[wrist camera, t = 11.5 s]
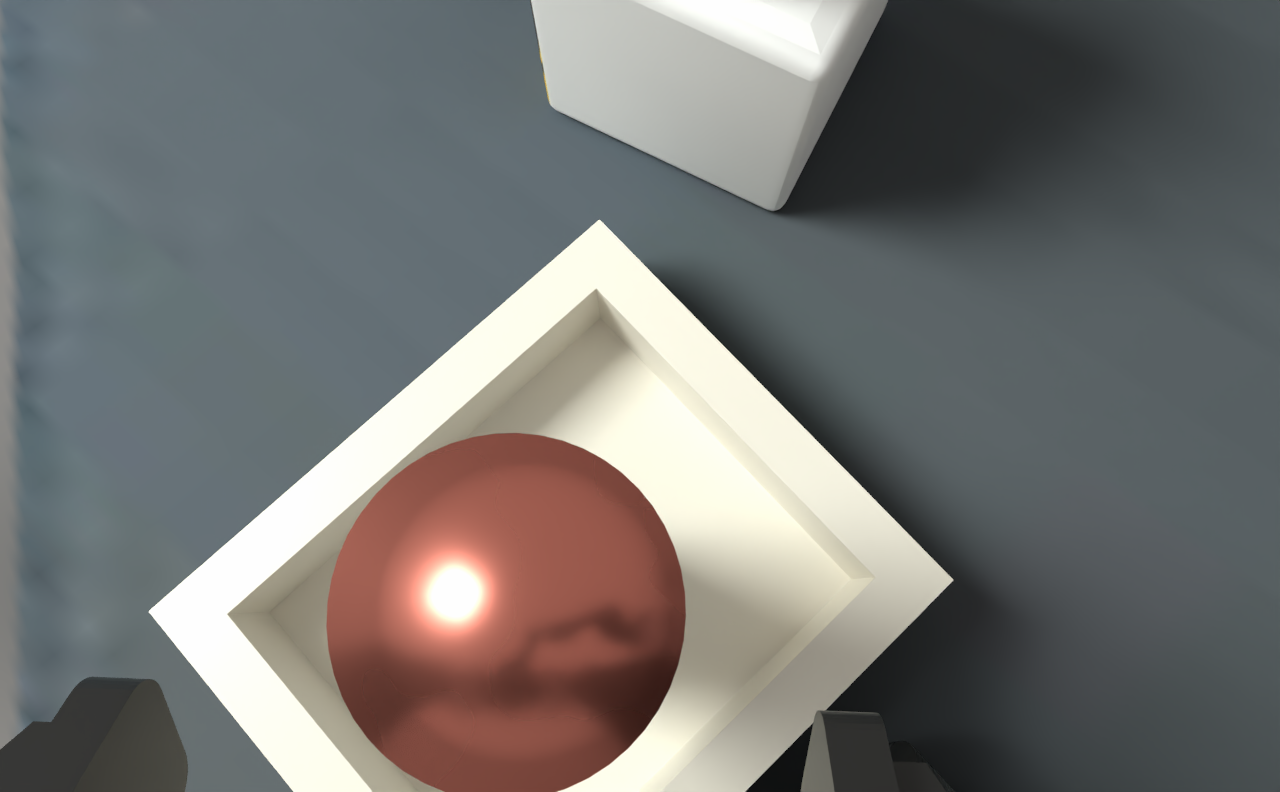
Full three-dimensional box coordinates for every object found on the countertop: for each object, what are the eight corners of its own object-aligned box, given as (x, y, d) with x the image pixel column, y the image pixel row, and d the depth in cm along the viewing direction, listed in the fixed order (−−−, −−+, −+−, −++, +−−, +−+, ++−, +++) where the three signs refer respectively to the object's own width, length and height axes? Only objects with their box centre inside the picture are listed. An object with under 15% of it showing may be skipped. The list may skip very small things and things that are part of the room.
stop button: (578, 479, 23) (522, 363, 12) (696, 606, 23) (760, 620, 11) (449, 597, 23) (253, 600, 11) (566, 731, 22) (488, 885, 10)
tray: (604, 263, 25) (599, 219, 22) (914, 581, 24) (953, 579, 21) (210, 609, 23) (148, 611, 20) (515, 983, 22) (496, 1043, 19)
